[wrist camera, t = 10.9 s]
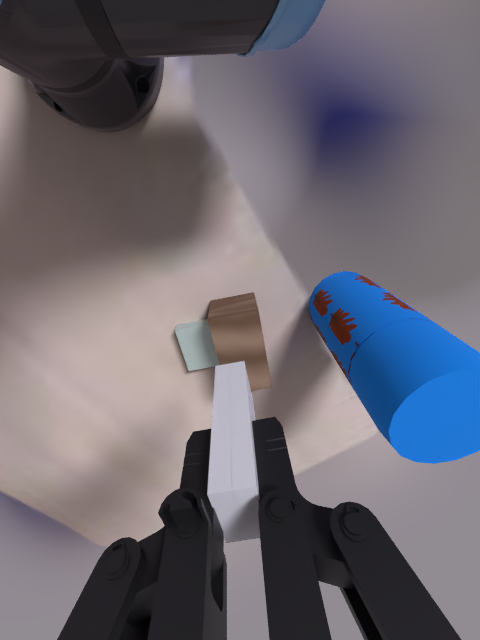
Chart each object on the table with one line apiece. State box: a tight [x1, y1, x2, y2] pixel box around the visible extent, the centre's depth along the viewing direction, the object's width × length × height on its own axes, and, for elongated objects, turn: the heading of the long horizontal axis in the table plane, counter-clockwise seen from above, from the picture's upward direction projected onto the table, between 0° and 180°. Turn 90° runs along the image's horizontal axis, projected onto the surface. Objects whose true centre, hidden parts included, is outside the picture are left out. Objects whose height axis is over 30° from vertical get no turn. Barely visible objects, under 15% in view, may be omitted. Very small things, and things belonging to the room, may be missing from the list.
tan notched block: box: [207, 293, 272, 391], centre depth 44 cm, size 13×7×7 cm, turn 11°
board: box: [175, 319, 219, 371], centre depth 46 cm, size 8×11×2 cm
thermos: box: [309, 271, 480, 463], centre depth 34 cm, size 11×11×25 cm
